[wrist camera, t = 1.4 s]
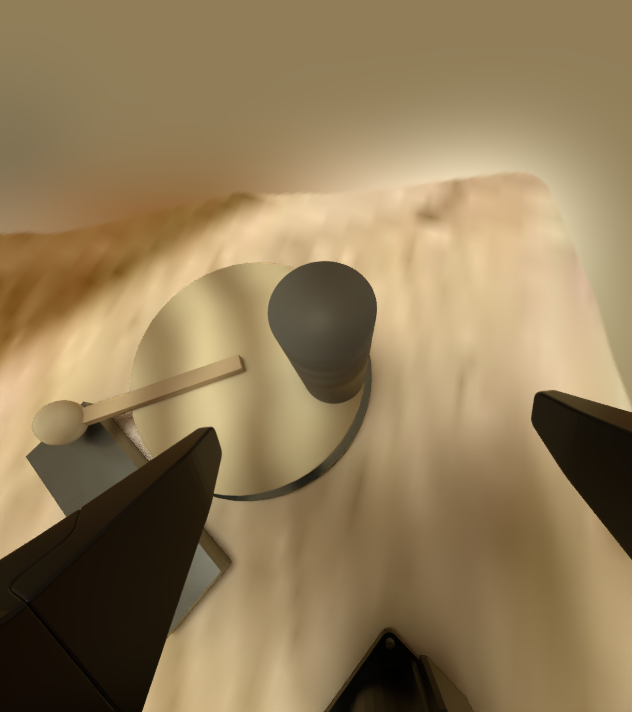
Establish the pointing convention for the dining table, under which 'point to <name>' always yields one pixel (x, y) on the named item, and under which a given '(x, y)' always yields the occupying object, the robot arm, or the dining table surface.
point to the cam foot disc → (246, 371)
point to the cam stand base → (121, 458)
